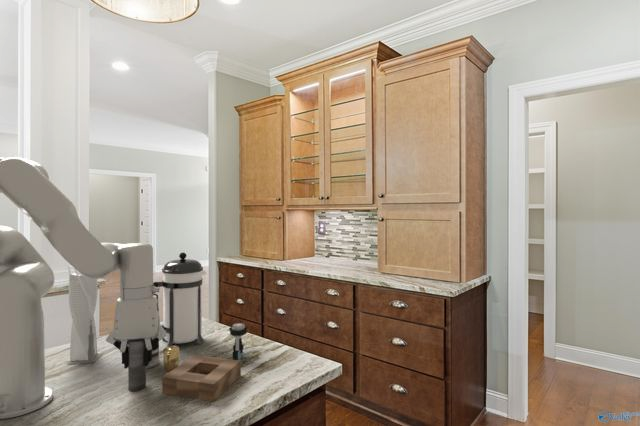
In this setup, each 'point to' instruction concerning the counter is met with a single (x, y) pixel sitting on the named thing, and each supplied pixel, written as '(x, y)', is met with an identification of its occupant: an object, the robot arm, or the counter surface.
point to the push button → (238, 339)
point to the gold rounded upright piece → (171, 358)
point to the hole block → (201, 377)
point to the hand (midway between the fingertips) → (137, 364)
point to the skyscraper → (82, 318)
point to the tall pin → (136, 365)
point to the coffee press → (182, 300)
